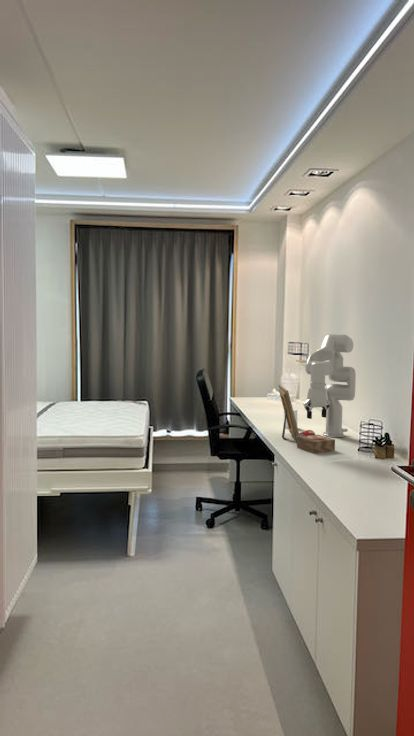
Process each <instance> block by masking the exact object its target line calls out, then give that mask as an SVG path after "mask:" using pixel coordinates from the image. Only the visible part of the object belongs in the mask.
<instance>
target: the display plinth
mask: <svg viewBox="0 0 414 736" xmlns="http://www.w3.org/2000/svg"><path fill="white" fill-rule="evenodd" d="M296 442H297V443H296V448H297V449H299V448H300V450H302V451H306V452H309V453H311V454H319V453H320V454H321V453H328V452H335V451H336V439H334V438H332V437H327V436H324V435H321V434H315V435H310V436H300V437H297V441H296Z"/></svg>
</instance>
